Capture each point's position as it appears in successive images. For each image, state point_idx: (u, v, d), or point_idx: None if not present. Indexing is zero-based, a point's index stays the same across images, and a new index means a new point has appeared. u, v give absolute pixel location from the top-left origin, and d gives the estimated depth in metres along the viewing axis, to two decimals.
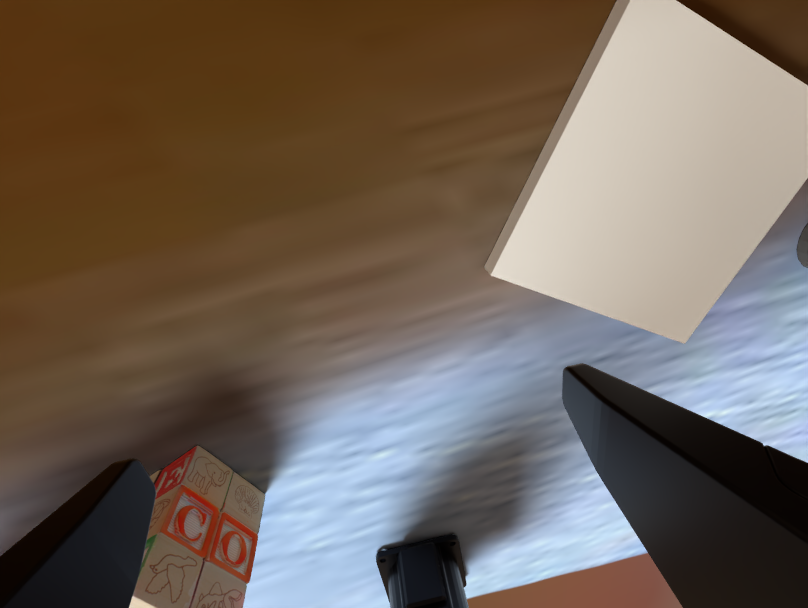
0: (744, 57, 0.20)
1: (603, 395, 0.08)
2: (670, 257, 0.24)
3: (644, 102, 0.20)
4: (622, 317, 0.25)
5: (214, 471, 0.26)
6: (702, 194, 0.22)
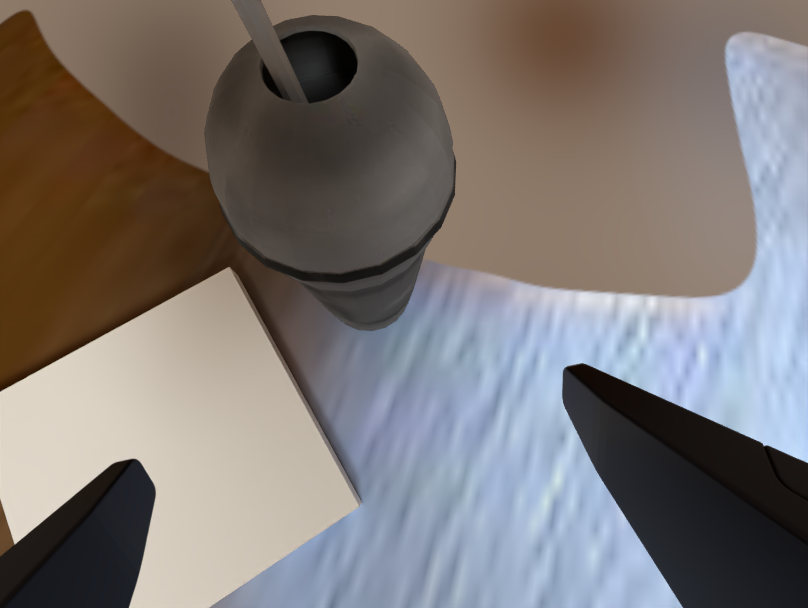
0: (99, 345, 0.22)
1: (603, 395, 0.08)
2: (226, 478, 0.20)
3: (56, 441, 0.21)
4: (256, 568, 0.19)
5: None
6: (186, 419, 0.21)
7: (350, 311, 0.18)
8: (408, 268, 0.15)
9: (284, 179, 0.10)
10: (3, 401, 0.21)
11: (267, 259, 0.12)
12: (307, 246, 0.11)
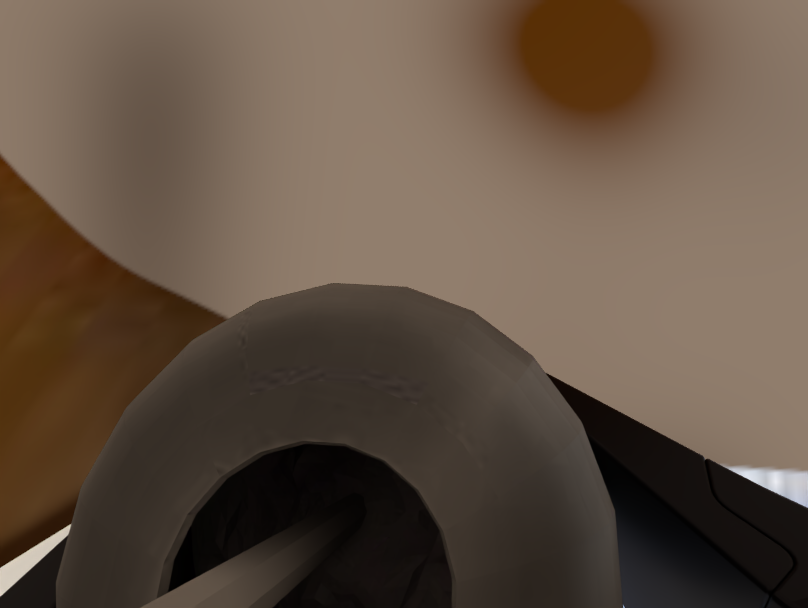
0: (15, 570, 0.16)
1: None
2: None
3: None
4: None
5: None
6: None
7: None
8: None
9: None
10: None
11: None
12: None
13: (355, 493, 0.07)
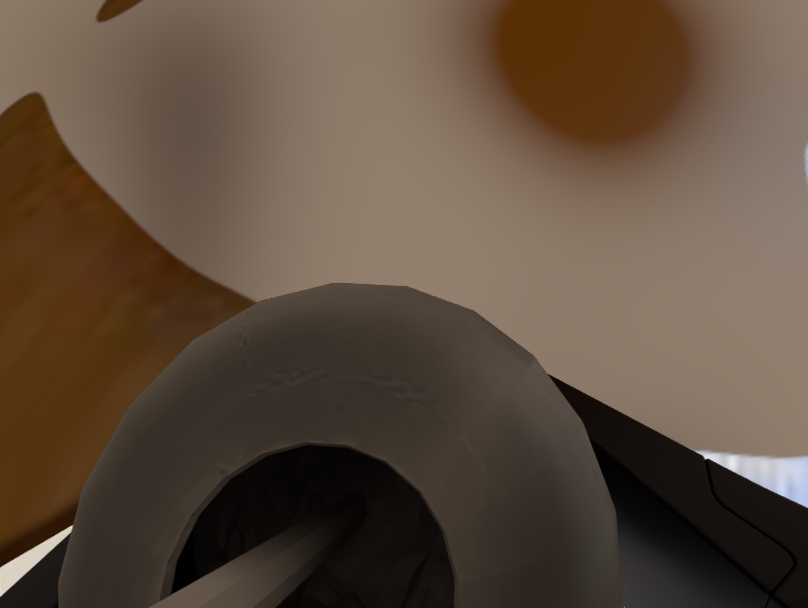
0: None
1: None
2: None
3: None
4: None
5: None
6: None
7: None
8: None
9: None
10: (3, 580, 0.19)
11: None
12: None
13: (356, 492, 0.07)
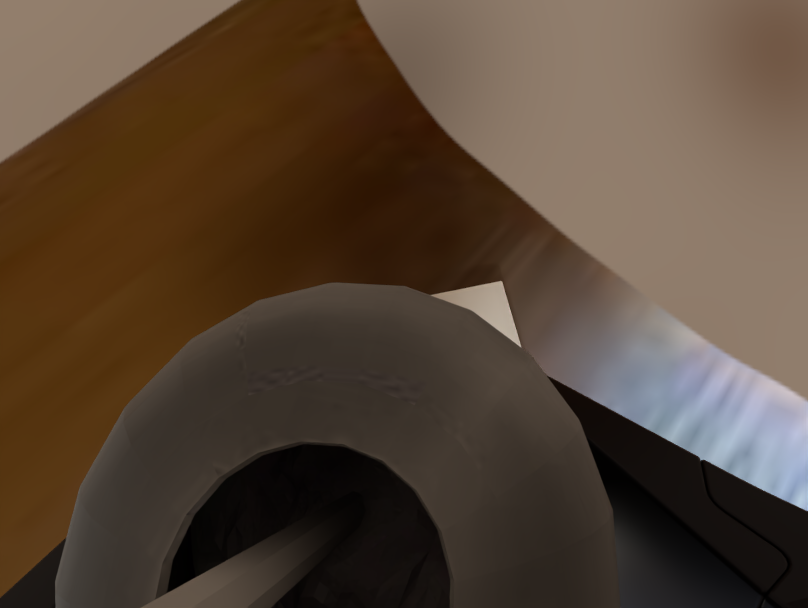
0: None
1: None
2: None
3: None
4: None
5: None
6: None
7: None
8: None
9: None
10: None
11: None
12: None
13: (354, 491, 0.07)
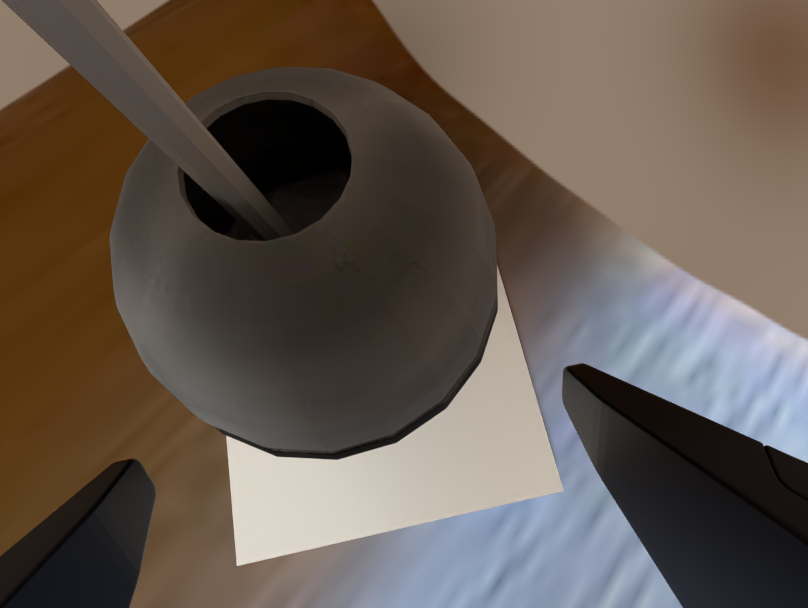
0: None
1: (603, 395, 0.08)
2: None
3: None
4: (445, 511, 0.18)
5: None
6: None
7: None
8: None
9: (228, 358, 0.06)
10: None
11: (222, 429, 0.08)
12: (277, 438, 0.07)
13: None
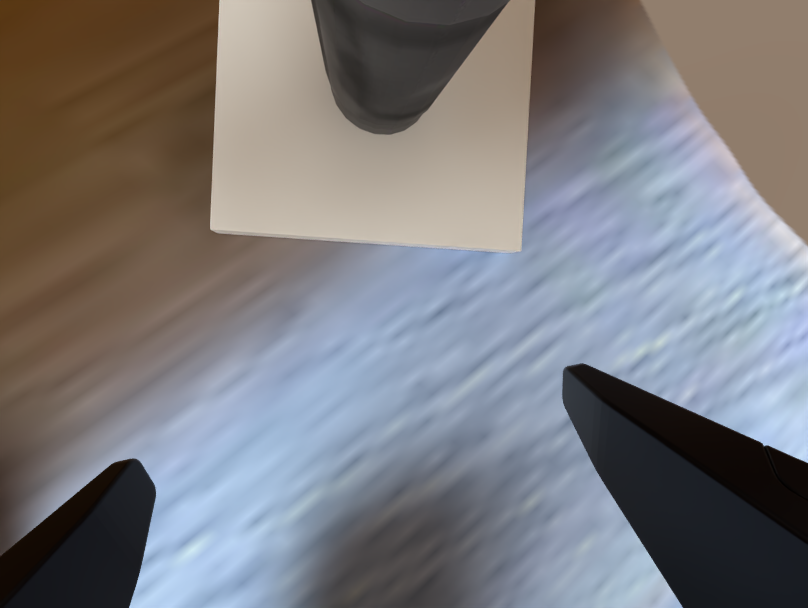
0: None
1: (603, 395, 0.08)
2: (429, 149, 0.20)
3: None
4: (414, 238, 0.20)
5: None
6: None
7: (372, 80, 0.14)
8: (482, 23, 0.11)
9: None
10: None
11: None
12: None
13: None
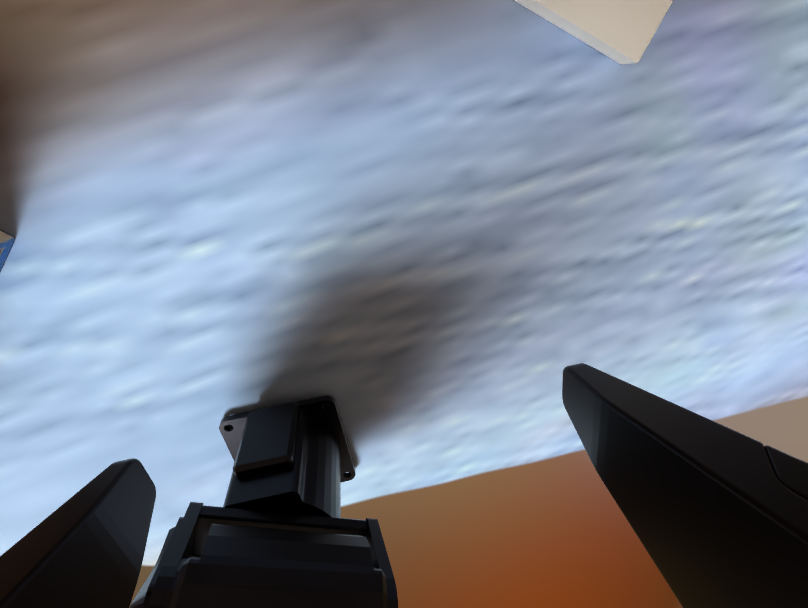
0: None
1: (603, 395, 0.08)
2: None
3: None
4: None
5: None
6: None
7: None
8: None
9: None
10: None
11: None
12: None
13: None
